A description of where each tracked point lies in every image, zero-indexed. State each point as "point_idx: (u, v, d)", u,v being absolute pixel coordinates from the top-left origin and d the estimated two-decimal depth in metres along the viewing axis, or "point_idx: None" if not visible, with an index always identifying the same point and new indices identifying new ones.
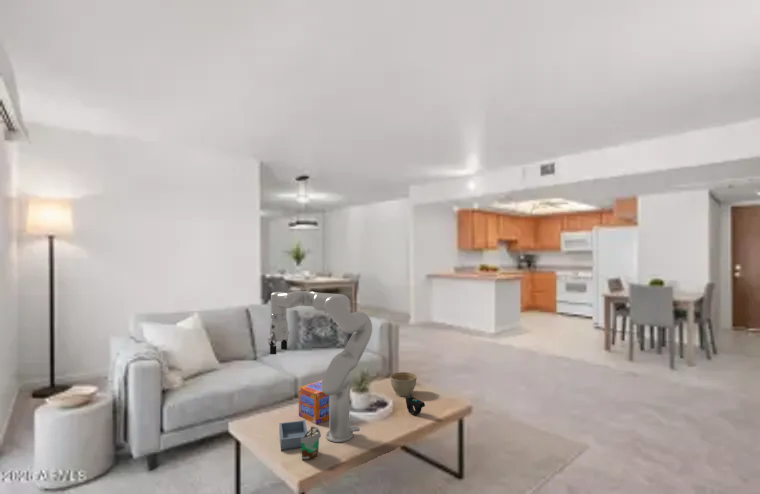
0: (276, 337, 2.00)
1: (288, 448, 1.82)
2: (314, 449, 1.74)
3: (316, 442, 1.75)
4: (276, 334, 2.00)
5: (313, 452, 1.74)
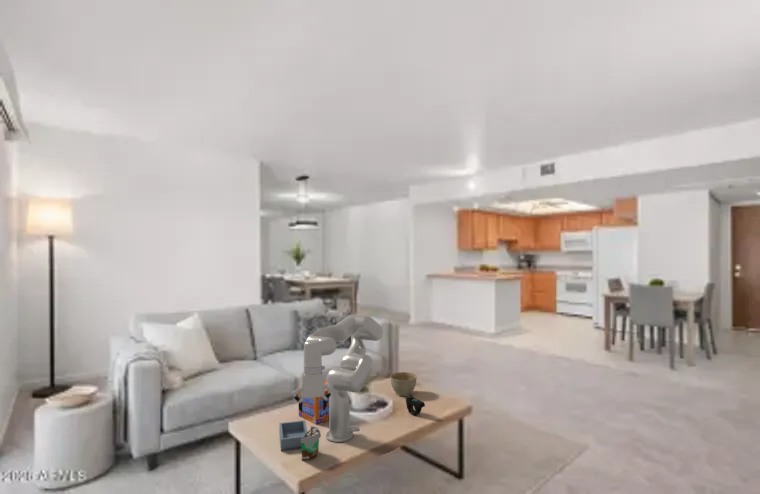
0: None
1: (288, 448, 1.82)
2: (314, 449, 1.74)
3: (316, 442, 1.75)
4: None
5: (313, 452, 1.74)
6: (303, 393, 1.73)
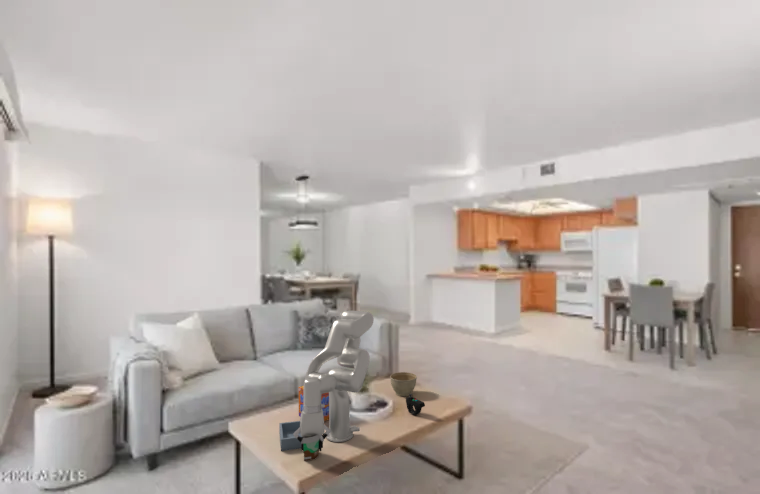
0: None
1: (288, 448, 1.82)
2: (316, 449, 1.74)
3: (317, 442, 1.75)
4: None
5: (315, 452, 1.74)
6: (302, 432, 1.73)
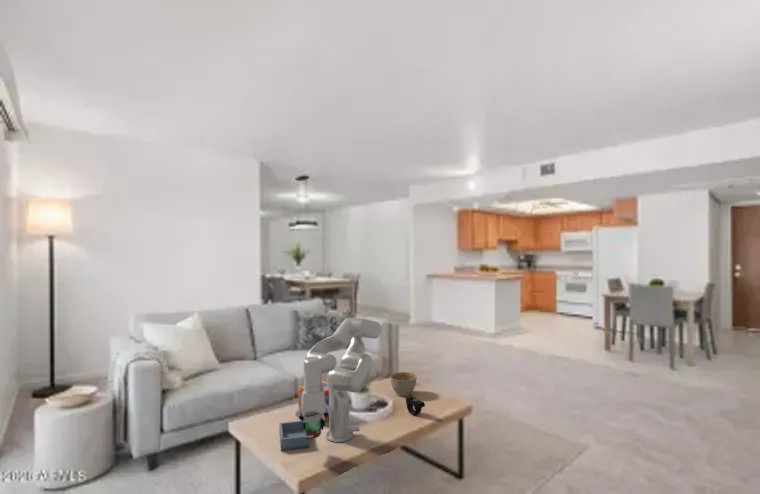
0: None
1: (288, 448, 1.82)
2: (318, 427, 1.75)
3: (319, 420, 1.76)
4: None
5: (317, 430, 1.75)
6: (304, 411, 1.74)
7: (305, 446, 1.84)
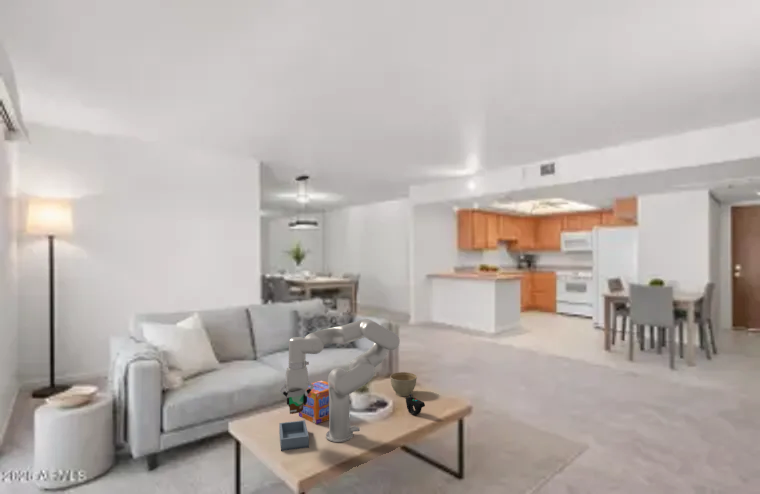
0: None
1: (288, 448, 1.82)
2: (301, 403, 1.86)
3: (302, 396, 1.87)
4: None
5: (300, 405, 1.86)
6: (288, 387, 1.85)
7: (305, 446, 1.84)
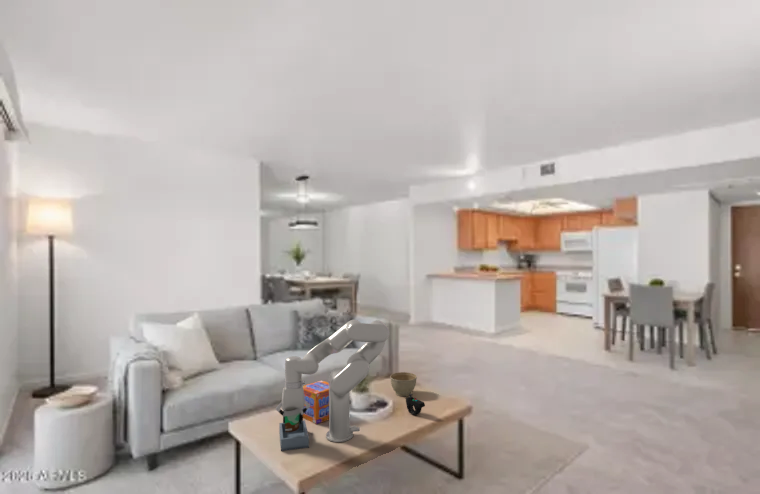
0: None
1: (288, 448, 1.82)
2: (296, 421, 1.89)
3: (298, 415, 1.90)
4: None
5: (296, 424, 1.89)
6: (284, 406, 1.88)
7: (305, 446, 1.84)
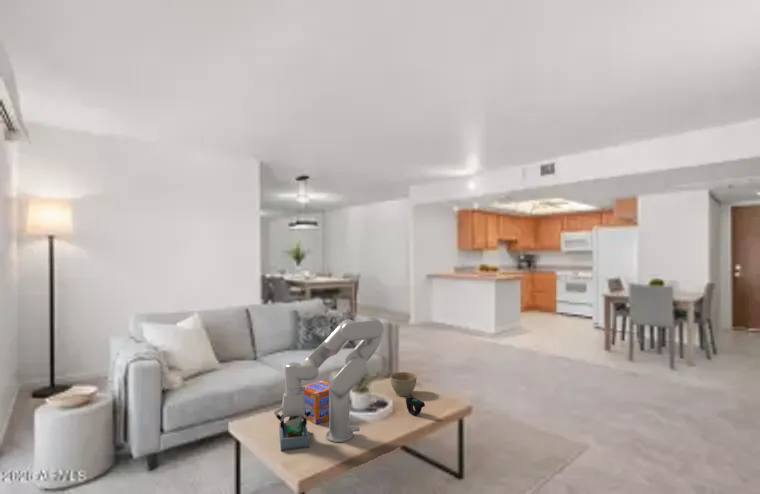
0: None
1: (288, 448, 1.82)
2: (299, 430, 1.89)
3: (300, 423, 1.90)
4: None
5: (298, 432, 1.89)
6: (284, 412, 1.88)
7: (305, 446, 1.84)
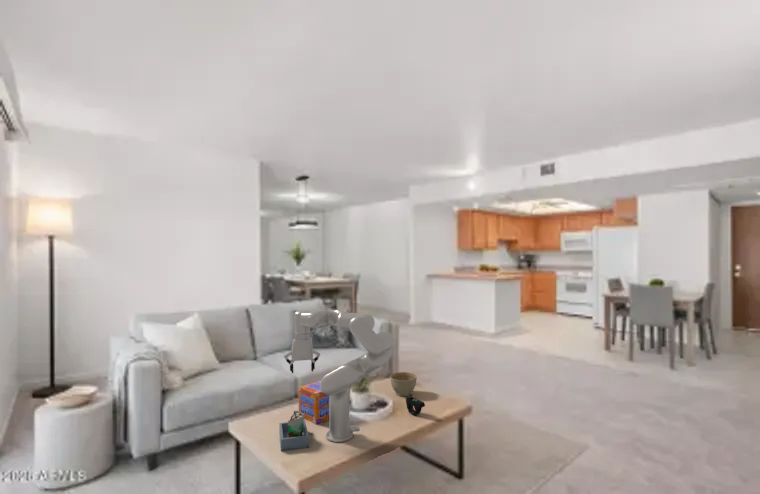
0: None
1: (288, 448, 1.82)
2: (299, 431, 1.89)
3: (301, 424, 1.90)
4: None
5: (299, 433, 1.89)
6: (294, 356, 1.99)
7: (305, 446, 1.84)
